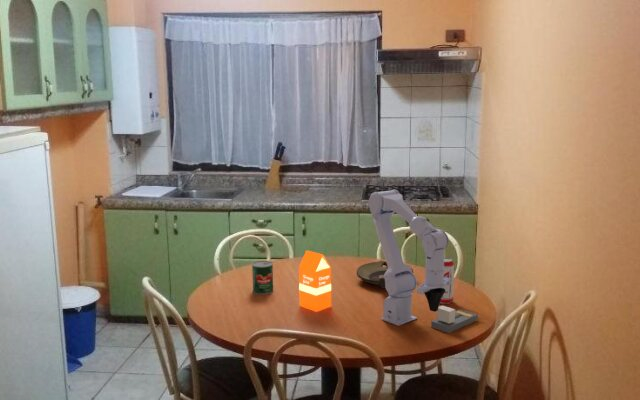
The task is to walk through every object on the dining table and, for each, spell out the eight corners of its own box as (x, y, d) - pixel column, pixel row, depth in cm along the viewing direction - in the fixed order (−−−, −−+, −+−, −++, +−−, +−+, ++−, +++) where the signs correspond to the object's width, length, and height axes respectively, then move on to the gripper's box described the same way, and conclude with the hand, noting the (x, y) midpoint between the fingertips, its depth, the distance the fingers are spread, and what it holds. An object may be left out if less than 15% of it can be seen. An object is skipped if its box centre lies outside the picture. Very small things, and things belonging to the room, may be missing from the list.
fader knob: (449, 323, 201) (449, 311, 201) (436, 319, 205) (436, 307, 204) (454, 321, 203) (455, 309, 202) (442, 317, 207) (442, 305, 206)
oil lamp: (421, 277, 257) (421, 259, 255) (392, 299, 231) (393, 279, 230) (371, 269, 268) (372, 252, 266) (339, 290, 242) (339, 271, 241)
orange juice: (314, 300, 231) (313, 248, 227) (331, 306, 225) (331, 252, 221) (299, 305, 226) (298, 252, 222) (316, 312, 219) (315, 257, 216)
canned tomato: (260, 296, 236) (260, 268, 234) (248, 291, 242) (247, 263, 240) (277, 291, 241) (276, 263, 239) (265, 286, 247) (264, 259, 245)
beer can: (440, 297, 232) (441, 256, 229) (456, 301, 228) (457, 259, 225) (432, 302, 228) (433, 260, 225) (447, 306, 224) (449, 263, 221)
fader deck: (448, 333, 200) (448, 326, 200) (431, 326, 205) (431, 320, 205) (477, 320, 210) (477, 314, 210) (460, 314, 216) (460, 308, 215)
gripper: (430, 277, 189) (429, 319, 191) (459, 267, 198) (457, 308, 201) (412, 272, 194) (411, 313, 196) (441, 262, 203) (440, 302, 206)
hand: (433, 310), depth 199 cm, fingers closed
